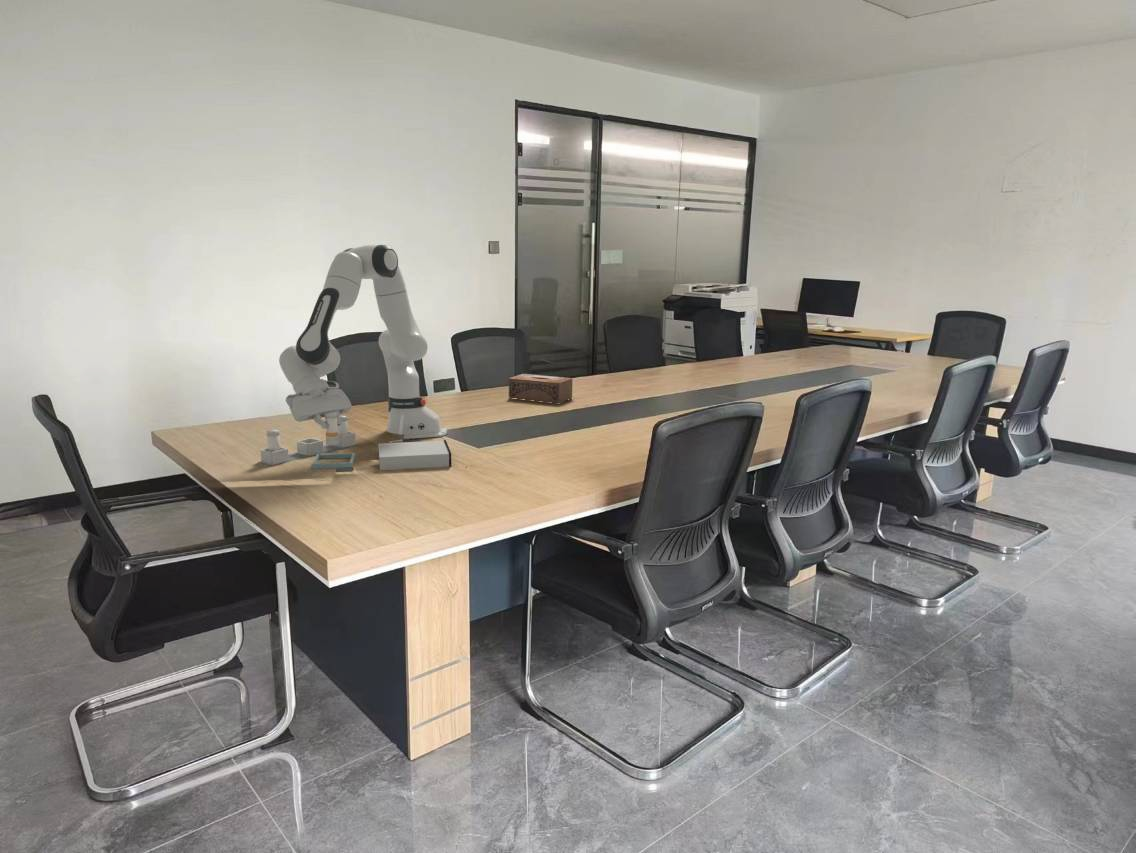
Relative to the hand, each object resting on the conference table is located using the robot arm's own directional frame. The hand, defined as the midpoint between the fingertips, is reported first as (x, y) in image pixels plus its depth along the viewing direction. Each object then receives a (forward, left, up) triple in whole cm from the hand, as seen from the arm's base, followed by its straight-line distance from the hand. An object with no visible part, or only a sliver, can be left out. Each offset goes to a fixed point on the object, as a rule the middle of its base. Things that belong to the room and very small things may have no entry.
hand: (332, 426), depth 244 cm
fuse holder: (+9, -13, -13) cm, 21 cm away
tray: (0, 0, -13) cm, 13 cm away
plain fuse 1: (+19, -4, -12) cm, 23 cm away
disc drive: (-25, -5, -14) cm, 29 cm away
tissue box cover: (-81, -106, -14) cm, 134 cm away
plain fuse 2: (0, -23, -12) cm, 26 cm away
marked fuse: (+1, 0, -6) cm, 6 cm away
